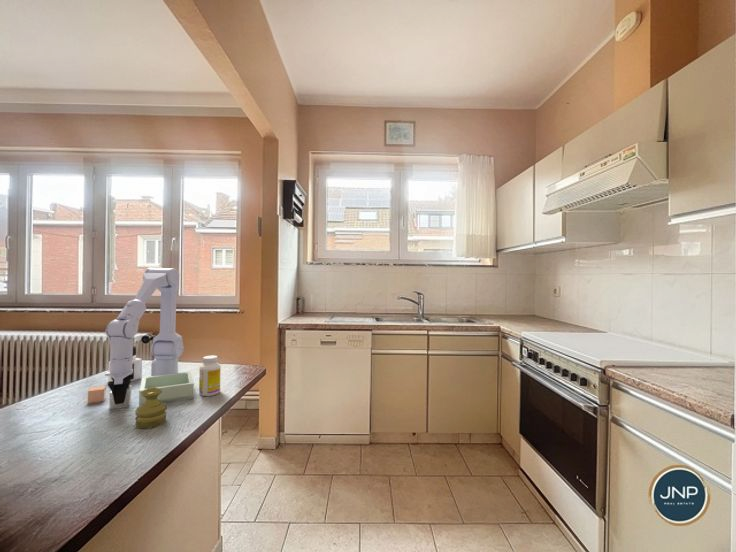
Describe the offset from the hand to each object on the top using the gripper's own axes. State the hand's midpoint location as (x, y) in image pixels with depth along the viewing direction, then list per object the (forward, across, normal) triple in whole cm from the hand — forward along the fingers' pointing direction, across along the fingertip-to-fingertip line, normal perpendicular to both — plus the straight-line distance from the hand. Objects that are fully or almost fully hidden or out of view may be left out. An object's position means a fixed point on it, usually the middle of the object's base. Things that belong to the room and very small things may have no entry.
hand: (120, 400), depth 104 cm
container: (+2, -28, -1) cm, 28 cm away
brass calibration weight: (+2, +19, +9) cm, 21 cm away
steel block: (+1, 0, 0) cm, 1 cm away
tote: (+1, -3, +13) cm, 13 cm away
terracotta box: (+2, -8, -7) cm, 11 cm away
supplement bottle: (+2, +2, +25) cm, 25 cm away
